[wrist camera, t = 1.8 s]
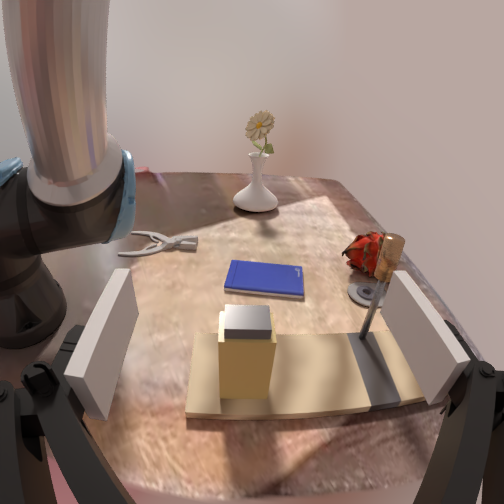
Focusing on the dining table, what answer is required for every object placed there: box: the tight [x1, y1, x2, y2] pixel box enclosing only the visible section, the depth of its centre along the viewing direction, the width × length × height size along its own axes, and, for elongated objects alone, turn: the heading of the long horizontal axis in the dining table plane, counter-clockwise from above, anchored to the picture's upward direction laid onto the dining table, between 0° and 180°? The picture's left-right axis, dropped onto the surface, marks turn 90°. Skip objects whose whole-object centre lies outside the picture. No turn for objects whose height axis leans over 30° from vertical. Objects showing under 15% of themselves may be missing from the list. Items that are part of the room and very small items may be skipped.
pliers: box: [118, 231, 198, 256], centre depth 60 cm, size 10×2×15 cm
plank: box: [185, 331, 448, 420], centre depth 35 cm, size 32×12×1 cm, turn 92°
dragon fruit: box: [342, 231, 399, 277], centre depth 55 cm, size 8×8×12 cm
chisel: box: [359, 233, 405, 340], centre depth 35 cm, size 2×2×15 cm
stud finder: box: [218, 305, 277, 399], centre depth 30 cm, size 5×4×10 cm
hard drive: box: [224, 260, 304, 299], centre depth 52 cm, size 2×8×12 cm
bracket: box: [348, 270, 397, 307], centre depth 49 cm, size 7×10×4 cm, turn 94°
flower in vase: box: [233, 110, 278, 212], centre depth 73 cm, size 13×11×25 cm
